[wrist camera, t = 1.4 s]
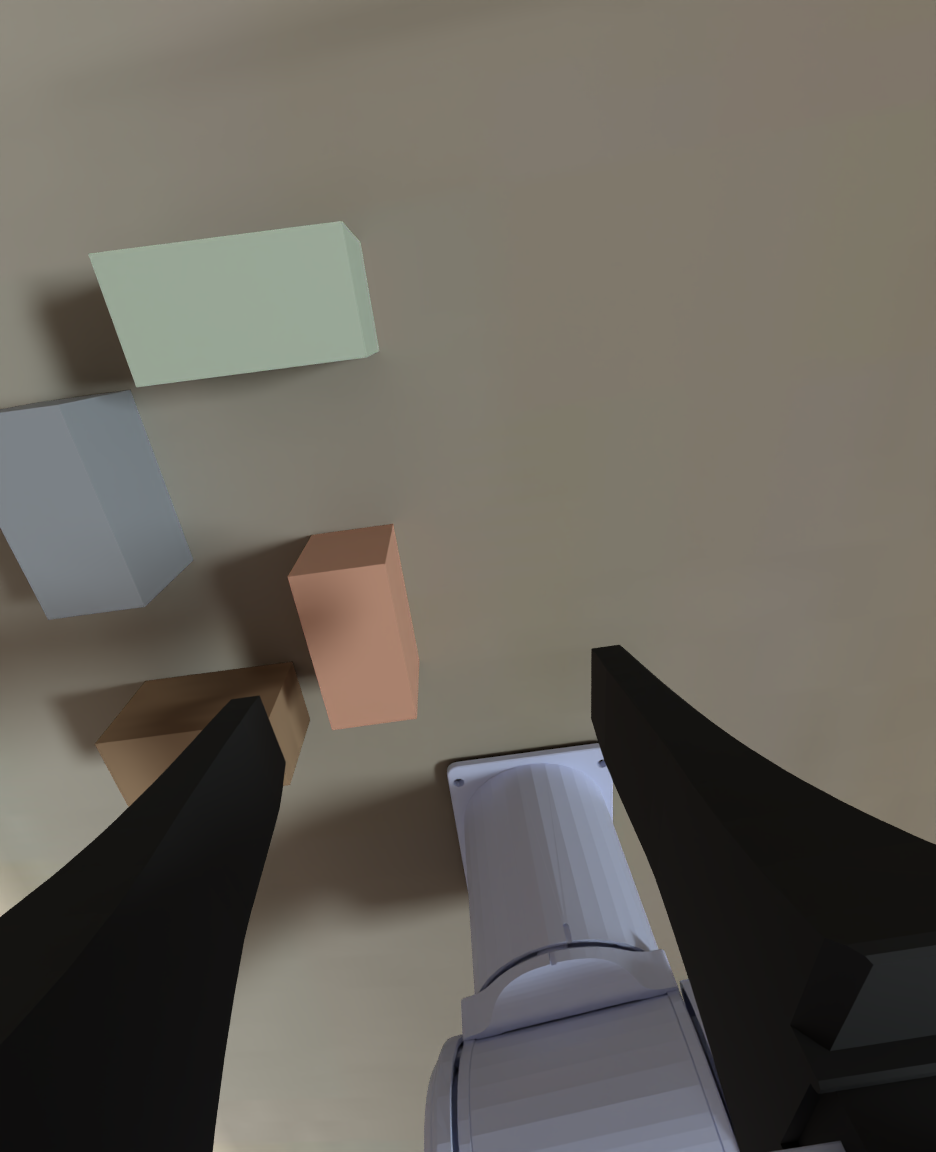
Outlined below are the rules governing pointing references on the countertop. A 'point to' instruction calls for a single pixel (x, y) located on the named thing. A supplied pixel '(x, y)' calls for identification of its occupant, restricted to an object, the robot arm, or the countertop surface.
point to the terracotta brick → (358, 625)
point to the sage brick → (239, 303)
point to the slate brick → (87, 505)
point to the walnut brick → (197, 720)
